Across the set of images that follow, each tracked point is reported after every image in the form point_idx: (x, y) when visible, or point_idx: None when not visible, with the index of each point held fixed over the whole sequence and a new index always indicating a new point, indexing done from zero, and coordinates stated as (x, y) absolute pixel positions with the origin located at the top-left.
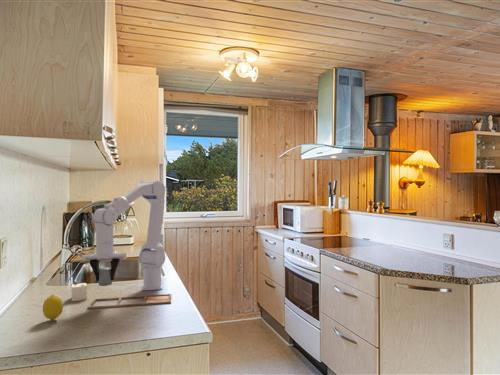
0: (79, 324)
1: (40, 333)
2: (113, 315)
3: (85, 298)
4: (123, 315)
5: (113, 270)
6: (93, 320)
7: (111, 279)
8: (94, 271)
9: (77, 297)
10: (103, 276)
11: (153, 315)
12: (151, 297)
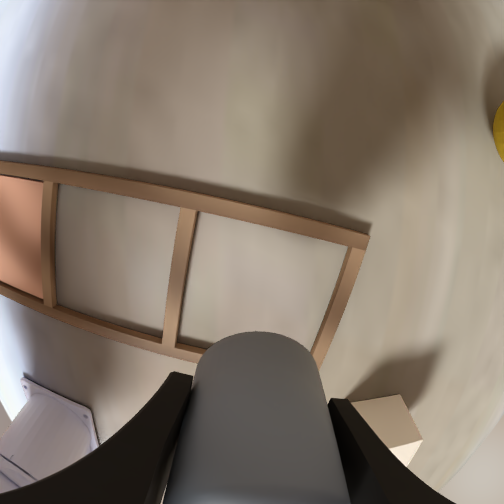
0: (395, 4)
1: (498, 21)
2: (224, 40)
3: None
4: (170, 24)
5: (122, 450)
6: (335, 14)
7: (187, 380)
8: (406, 474)
9: (382, 407)
10: (287, 408)
11: (55, 7)
12: (27, 280)
